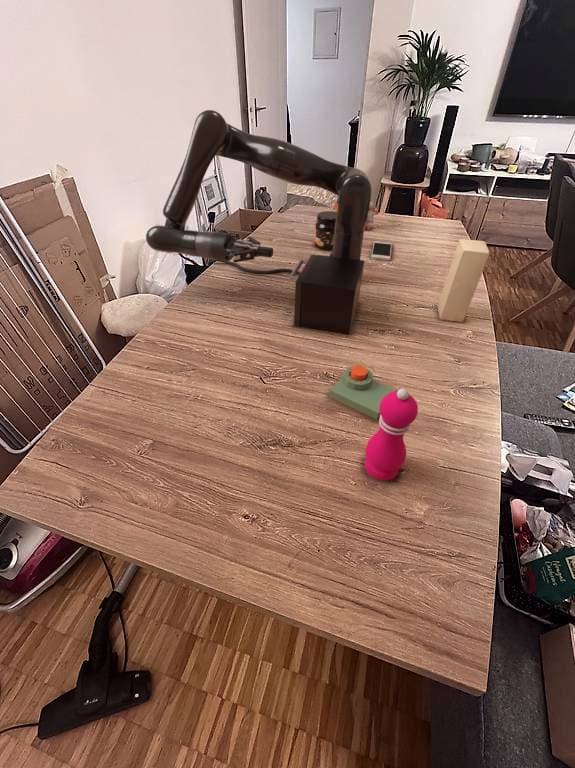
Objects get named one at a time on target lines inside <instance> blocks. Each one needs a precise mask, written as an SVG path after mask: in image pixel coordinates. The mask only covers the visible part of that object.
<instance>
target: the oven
mask: <svg viewBox="0 0 575 768" xmlns="http://www.w3.org/2000/svg"><path fill="white" fill-rule="evenodd" d="M316 255H317V256H316V257H315V259H314V261H313V263H312V265H311V267H310V268H309V270H308V272H307V274H306V276H305V277H304V279H303V281H302V292H301V319H300V326H299V327H300V328H303V329H310V330H316V331H322V332H328V333H334V334H340V335H345V336H350V333H351V330H352V326H353V322H354V320H355V315H356V312H357V308H358V306H359V299H360V293H361V287H362V280H363V274H364V267H365V260H362V259H360V260H355V259H347V258H339V257H331V256H330V255H323V254H316Z"/></svg>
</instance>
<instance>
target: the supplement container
mask: <svg viewBox="0 0 575 768" xmlns="http://www.w3.org/2000/svg"><path fill="white" fill-rule="evenodd" d="M336 218H337V212H336V211H335V210H323V211H320V212H318V213H317V214H316V221H315V223H314V242H313V243H314V246H315V247H316V248H317V249H319V250H321V251H333V243H334V232H335V221H336Z"/></svg>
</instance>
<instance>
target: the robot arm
mask: <svg viewBox="0 0 575 768" xmlns="http://www.w3.org/2000/svg"><path fill="white" fill-rule="evenodd" d="M217 156H218V157H222V158H226V159H229V160H234V161H236V162H241V163H243V164H246V165H247V166H249V167H251V168H253V169H256V170H257V171H259V172H261V173H263V174H266V175H268V176H271V177H273V178H276V179H278V180H282V181H284V182H286V183H289V184H292V185H297V186H298V185H300V186H308V187H316V188H319V189H323V190H326V192H327V191H328V192H329V193H331V194H333V195H336V196H337V197H338V198H339V200H338V210H337V218H336V221H335V232H334V243H333V250H331V251H330V252H329V256H331V257H339V258H347V259H355V260H361V257H362V251H363V250H362V249H363V243H364V236H365V230H366V229H365V226H366V225H367V224H366V222H367V218H368V212H369V206H370V202H371V200H372V183H371V181H370V180H369V177H368V176H367V174H366V172H364V171H363V170H361V169H359V168H357V167H351V166H348V165H343V164H340V163H335V162H333V161H330V160H327V159H325V158H323V157H321V156H320V155H317V154H316V153H314V152H311V151H310V150H306V149H304V148H302V147H301V146H298V145H295V144H293V143H291V142H288V141H285V140H282V139H279V138H276V137H275V138H274V137H269V136H263V135H256V134H251V133H249V132H246V131H243V130H242V129H240V128H238V127H235V126H234V125H231V124H229V123H228V122H227V121H226V119H225V118H224V117H223V115H222V114H221V113H220V112H218V111H216V110H213V109H207V110H204V111H201V112H200V113H199V114H198V115H197V117H196V118H195V120H194V124H193V128H192V132H191V136H190V140H189V144H188V147H187V150H186V154H185V157H184V159H183V161H182V165H181V167H180V170H179V172H178V174H177V177H176V179H175V181H174V183H173V185H172V187H171V189H170V191H169V194H168V197H167V198H166V201H165V203H164V206H163V209H162V215H163V216H164V217H165V222H164V225H153V226H150V228H149V229H148V230H147V231H146V234H145V241H146V243H147V245H148V246H149V248H150V249H152V250H154V251H155V252H159V253H165V254H174V253H176V254H181V255H185V256H189V257H196V258H203V259H207V260H208V261H207V263H206V264H207V265H211V264H212V263H214V262H219V263H224V264H228V265H231V266H234V267H236V268H238V269H239V270H241V271H244V272H247V273H252V274H262V275H263V274H264V275H265V274H274V273H281V272H285V273H286V272H288V273H290V274H291V273H292V271H293V270H294V269H290V268H277V269H271V270H257V269H250V268H246V267H243V266H241V265H239V264H238V263H240V262H246V261H251V260H252V261H253V260H255V258H259V257H263V258H272V257H273V255H274V248H273V247H269V246H261V242H260V241H259V240H257V239H255V238H254V237H251V236H247V240H244V239H241V238H237V239H235V238H234V237H233V235H232V233H228V232H219V231H210V230H204V231H203V230H202V231H201V230H192V229H186V224H187V222H188V219H189V218H190V215H191V213H192V211H193V208H194V206H195V204H196V202H197V200H198V196H199V193H200V190H201V187H202V185H203V181H204V178H205V176H206V173H207V171H208V169H209V167H210V166H211V163H212V162H213V160H214V158H215V157H217ZM365 224H366V225H365ZM232 259H233V260H232ZM231 260H232V261H231ZM301 272H302V271H301ZM301 272H300V271H298V272H297V273H296V275H298V276H299V275H300V273H301Z"/></svg>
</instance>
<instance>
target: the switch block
mask: <svg viewBox="0 0 575 768" xmlns="http://www.w3.org/2000/svg"><path fill="white" fill-rule="evenodd" d="M353 366H354V365H352V366H349V367H347V368H346V369H345V370H344V371H343V376H342V377H340V379H339V380H338V381H337V382H336V383H335V384H334V385H333V386H332V387H331V388H330V389H329V395H328V396H329V397H328V398H330V399H332V400H334V401H336V402H339V403H340V404H342V405H345V406H347V407H349V408H351V409H353V410H355V411H357V412H359V413H361V414H364V415H365V416H368V417H369V418H371V419H374V420H376V421H377V420H379V419H380V415H381V414H380V410H379V407H380V403H381V401H382V399H383V397H384V396H385V395H387V394H388V393H390V392H394V391H397V389H395V388H393V387H391V386H388V385H386V384H384V383H381V382H379V381H376V380H375V379H374V375H373V372H372V371H371V370H370V369H369V368H367V367H365V368H366V369H367V376H366V379H365V380H363V381H356V380H353V379H352V378H351V376H350V374H351V369H352V367H353Z"/></svg>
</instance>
